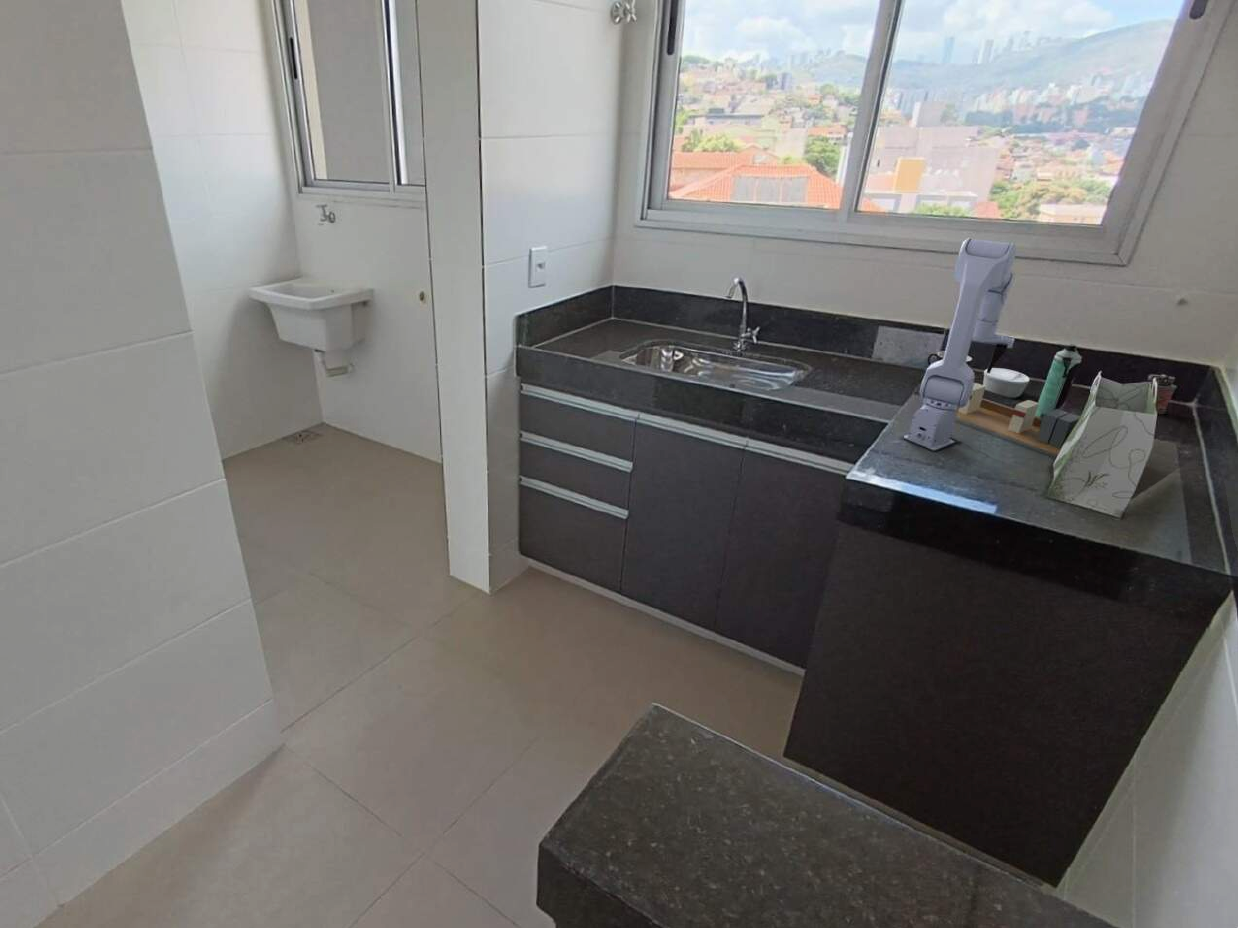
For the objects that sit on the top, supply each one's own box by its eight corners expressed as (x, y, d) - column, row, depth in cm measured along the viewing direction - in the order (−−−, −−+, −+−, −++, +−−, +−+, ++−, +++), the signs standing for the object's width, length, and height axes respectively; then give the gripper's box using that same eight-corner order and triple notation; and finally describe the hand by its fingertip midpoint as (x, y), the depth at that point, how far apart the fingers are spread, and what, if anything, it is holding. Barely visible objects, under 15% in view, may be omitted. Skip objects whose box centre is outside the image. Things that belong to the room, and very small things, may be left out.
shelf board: (1055, 458, 150) (1060, 446, 149) (928, 411, 172) (931, 400, 171) (1083, 444, 158) (1087, 433, 156) (958, 401, 180) (961, 390, 178)
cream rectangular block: (966, 414, 168) (973, 390, 165) (956, 411, 170) (963, 387, 167) (978, 410, 172) (986, 386, 169) (968, 406, 174) (976, 383, 171)
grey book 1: (1047, 443, 155) (1056, 417, 152) (1035, 439, 156) (1044, 413, 154) (1059, 438, 158) (1068, 412, 155) (1047, 434, 160) (1056, 408, 157)
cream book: (1018, 433, 159) (1027, 408, 156) (1007, 429, 161) (1015, 404, 158) (1030, 428, 162) (1039, 403, 160) (1019, 424, 164) (1028, 399, 161)
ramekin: (1029, 402, 182) (1035, 383, 179) (985, 397, 184) (991, 378, 181) (1016, 388, 192) (1022, 370, 189) (974, 383, 193) (980, 366, 191)
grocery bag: (1058, 446, 158) (1095, 350, 147) (1129, 464, 150) (1173, 364, 140) (1040, 497, 134) (1082, 387, 124) (1123, 521, 127) (1175, 407, 117)
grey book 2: (1060, 448, 153) (1070, 422, 150) (1048, 444, 154) (1058, 418, 151) (1072, 442, 156) (1082, 417, 153) (1060, 438, 158) (1070, 413, 155)
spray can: (1060, 428, 166) (1090, 349, 157) (1036, 425, 167) (1064, 347, 158) (1052, 419, 171) (1080, 343, 162) (1029, 417, 172) (1056, 340, 163)
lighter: (1159, 409, 181) (1175, 374, 177) (1167, 414, 178) (1184, 378, 174) (1128, 407, 182) (1143, 371, 178) (1135, 412, 179) (1151, 376, 174)
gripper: (1020, 317, 165) (1004, 368, 172) (956, 308, 171) (943, 358, 178) (1019, 326, 160) (1002, 379, 167) (952, 317, 166) (939, 368, 173)
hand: (971, 369), depth 172 cm, fingers open, 7 cm apart
